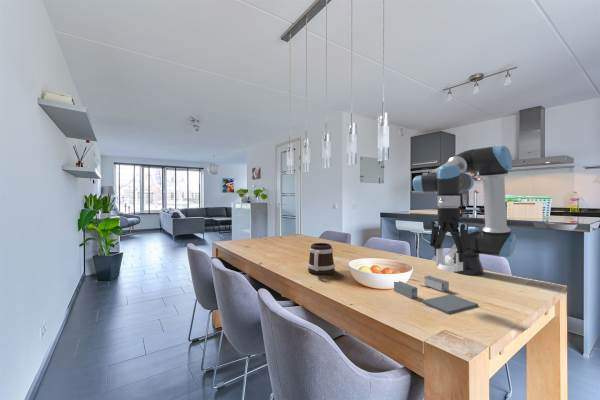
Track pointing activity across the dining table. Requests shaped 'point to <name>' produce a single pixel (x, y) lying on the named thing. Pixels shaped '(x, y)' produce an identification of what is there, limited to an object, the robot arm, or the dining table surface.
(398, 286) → the grey blocks
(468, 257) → the robot arm
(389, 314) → the dining table surface
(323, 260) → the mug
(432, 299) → the mat
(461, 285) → the dining table surface
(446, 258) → the hook
